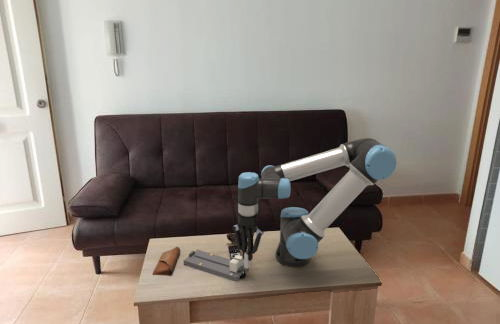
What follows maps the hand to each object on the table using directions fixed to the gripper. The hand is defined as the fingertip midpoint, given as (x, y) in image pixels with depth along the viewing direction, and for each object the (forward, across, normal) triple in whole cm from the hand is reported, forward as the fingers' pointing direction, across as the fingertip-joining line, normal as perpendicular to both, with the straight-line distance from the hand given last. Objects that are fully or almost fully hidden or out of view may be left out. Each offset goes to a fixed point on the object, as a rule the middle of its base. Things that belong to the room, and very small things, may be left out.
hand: (247, 266), depth 147 cm
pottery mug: (+5, +15, -21) cm, 26 cm away
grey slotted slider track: (+5, +15, 0) cm, 16 cm away
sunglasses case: (+6, +35, +8) cm, 36 cm away
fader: (+2, +5, 0) cm, 6 cm away
